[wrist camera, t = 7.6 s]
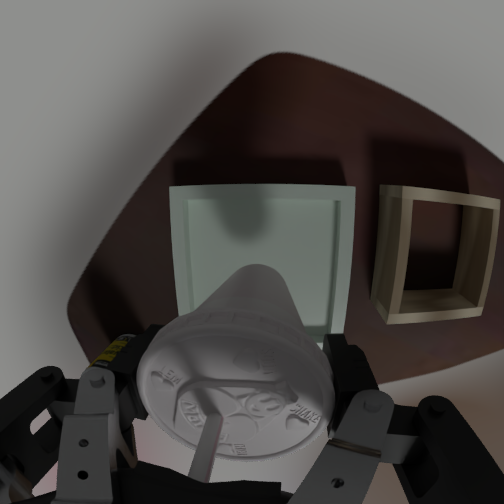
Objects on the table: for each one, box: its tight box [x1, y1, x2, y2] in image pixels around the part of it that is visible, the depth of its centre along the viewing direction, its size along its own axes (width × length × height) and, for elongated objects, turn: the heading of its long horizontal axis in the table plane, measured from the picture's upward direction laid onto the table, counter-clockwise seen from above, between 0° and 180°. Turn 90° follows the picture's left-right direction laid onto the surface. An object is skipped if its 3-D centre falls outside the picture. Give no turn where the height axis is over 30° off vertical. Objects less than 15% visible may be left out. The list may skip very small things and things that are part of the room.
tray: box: [169, 184, 355, 350], centre depth 21 cm, size 13×13×2 cm
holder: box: [370, 185, 500, 324], centre depth 18 cm, size 10×10×4 cm
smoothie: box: [137, 264, 335, 483], centre depth 10 cm, size 6×6×14 cm
